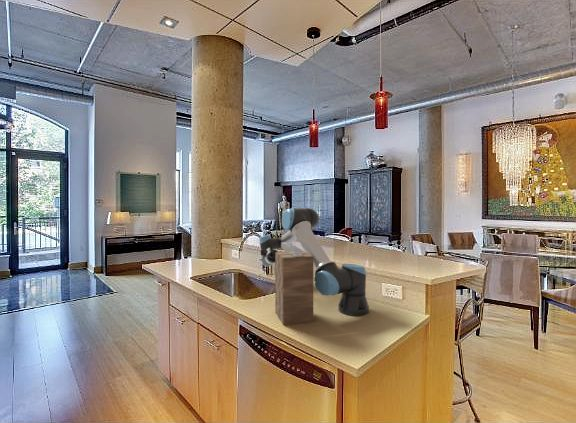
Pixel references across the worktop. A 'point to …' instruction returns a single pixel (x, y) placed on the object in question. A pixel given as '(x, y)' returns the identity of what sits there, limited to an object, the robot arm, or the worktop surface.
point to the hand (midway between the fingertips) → (281, 250)
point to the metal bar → (291, 249)
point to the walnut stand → (294, 288)
